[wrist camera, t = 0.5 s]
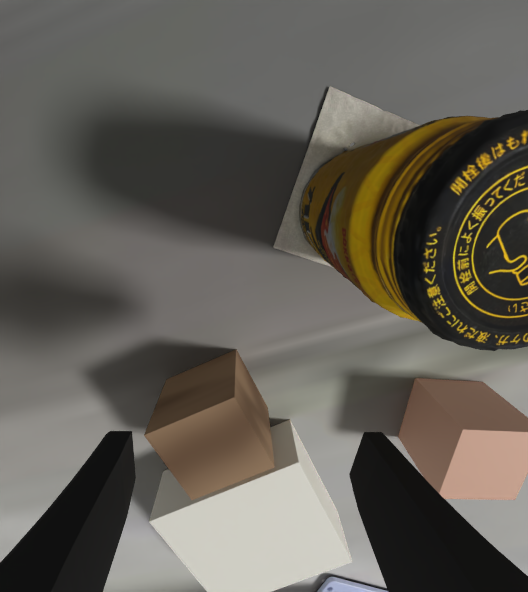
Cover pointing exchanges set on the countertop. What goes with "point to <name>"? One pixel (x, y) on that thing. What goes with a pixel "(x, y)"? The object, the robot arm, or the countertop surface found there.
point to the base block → (255, 524)
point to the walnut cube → (212, 426)
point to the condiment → (420, 216)
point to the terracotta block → (466, 439)
